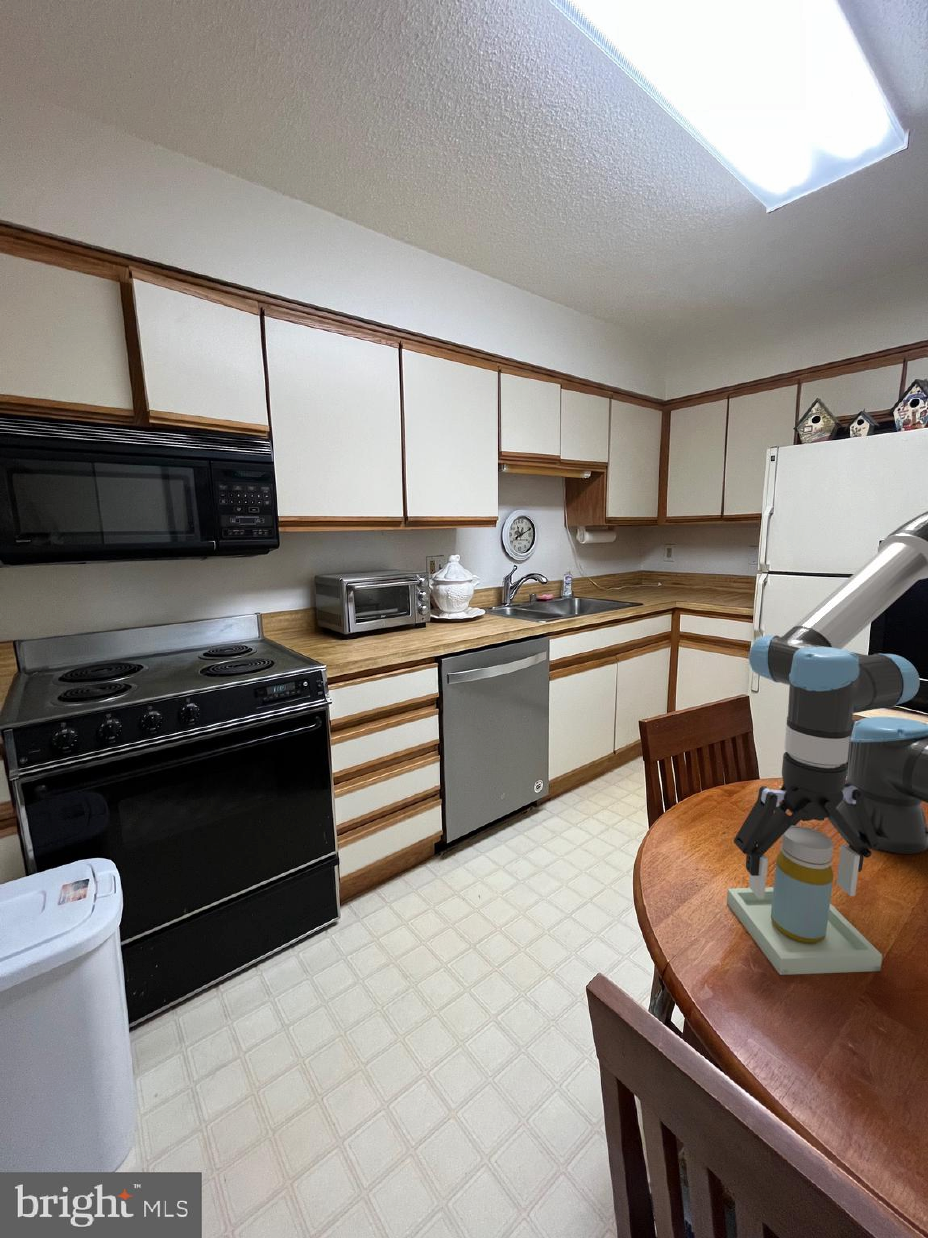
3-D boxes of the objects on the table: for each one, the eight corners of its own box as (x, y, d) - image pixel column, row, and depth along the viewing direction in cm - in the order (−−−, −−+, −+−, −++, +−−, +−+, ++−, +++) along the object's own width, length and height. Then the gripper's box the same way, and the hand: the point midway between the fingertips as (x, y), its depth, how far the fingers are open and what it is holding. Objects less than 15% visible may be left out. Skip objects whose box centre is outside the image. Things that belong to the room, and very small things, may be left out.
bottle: (834, 950, 74) (846, 854, 71) (780, 942, 75) (790, 848, 73) (812, 915, 81) (823, 826, 78) (763, 908, 82) (772, 821, 80)
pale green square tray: (810, 899, 85) (812, 885, 85) (880, 971, 71) (882, 955, 71) (726, 902, 85) (727, 888, 84) (779, 975, 71) (781, 959, 71)
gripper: (879, 743, 77) (863, 872, 81) (714, 748, 77) (706, 877, 80) (924, 766, 70) (904, 906, 73) (742, 771, 69) (731, 912, 73)
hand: (801, 891), depth 77 cm, fingers open, 13 cm apart
